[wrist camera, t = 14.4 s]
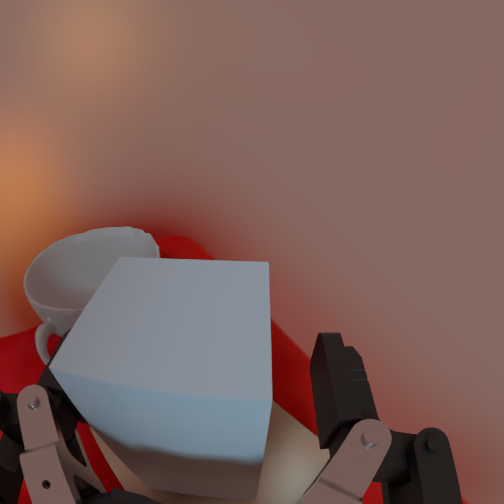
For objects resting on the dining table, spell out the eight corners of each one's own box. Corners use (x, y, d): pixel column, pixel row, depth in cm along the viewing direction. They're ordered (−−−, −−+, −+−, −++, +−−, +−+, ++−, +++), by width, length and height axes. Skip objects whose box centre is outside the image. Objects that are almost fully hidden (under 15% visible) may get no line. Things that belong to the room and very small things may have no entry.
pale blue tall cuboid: (148, 487, 10) (48, 367, 5) (166, 408, 15) (120, 256, 10) (256, 500, 10) (271, 399, 5) (257, 415, 15) (268, 262, 10)
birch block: (116, 457, 15) (89, 428, 13) (226, 396, 21) (225, 357, 19) (204, 569, 9) (194, 574, 6) (323, 481, 15) (345, 458, 12)
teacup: (91, 281, 32) (76, 220, 28) (187, 298, 31) (181, 229, 27) (19, 373, 19) (-22, 306, 15) (131, 422, 18) (95, 354, 14)
